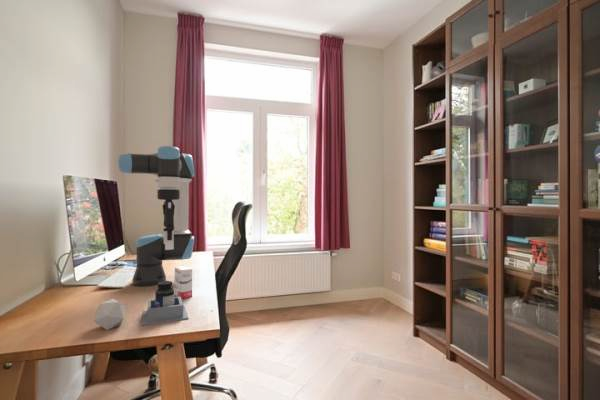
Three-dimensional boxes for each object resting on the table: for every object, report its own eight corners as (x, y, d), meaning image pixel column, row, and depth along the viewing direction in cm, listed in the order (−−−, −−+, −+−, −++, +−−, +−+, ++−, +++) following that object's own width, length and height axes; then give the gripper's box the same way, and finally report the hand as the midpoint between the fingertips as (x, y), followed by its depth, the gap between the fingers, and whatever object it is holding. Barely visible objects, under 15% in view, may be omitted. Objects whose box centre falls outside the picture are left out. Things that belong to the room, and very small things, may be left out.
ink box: (192, 296, 133) (192, 268, 134) (180, 299, 130) (180, 270, 130) (185, 292, 140) (185, 265, 140) (173, 294, 137) (174, 266, 137)
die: (111, 321, 107) (91, 302, 102) (136, 308, 107) (116, 288, 103) (104, 340, 99) (81, 320, 95) (130, 326, 100) (109, 305, 95)
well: (143, 312, 114) (143, 299, 114) (184, 306, 120) (184, 294, 120) (142, 325, 102) (142, 311, 102) (188, 319, 108) (188, 305, 108)
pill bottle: (152, 313, 111) (153, 282, 111) (170, 310, 115) (170, 279, 115) (158, 318, 106) (158, 285, 107) (176, 314, 110) (177, 282, 111)
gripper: (156, 189, 127) (156, 242, 127) (158, 188, 104) (158, 252, 105) (177, 189, 130) (176, 241, 130) (182, 188, 107) (182, 251, 108)
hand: (168, 246), depth 117 cm, fingers open, 13 cm apart
